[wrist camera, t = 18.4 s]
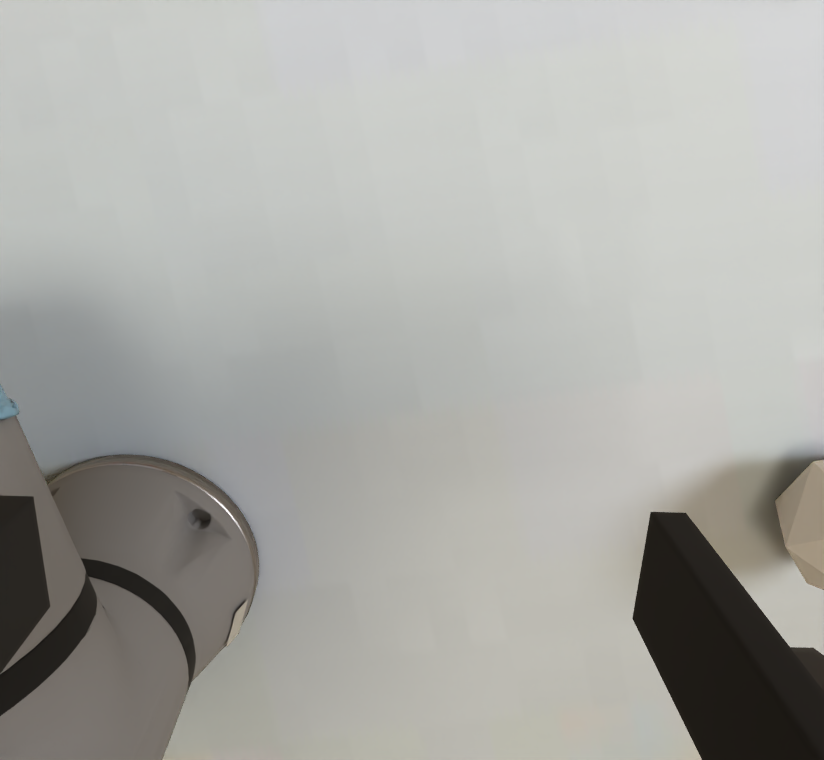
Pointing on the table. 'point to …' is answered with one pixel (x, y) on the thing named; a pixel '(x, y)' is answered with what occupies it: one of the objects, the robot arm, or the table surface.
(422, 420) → the table surface
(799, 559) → the die
